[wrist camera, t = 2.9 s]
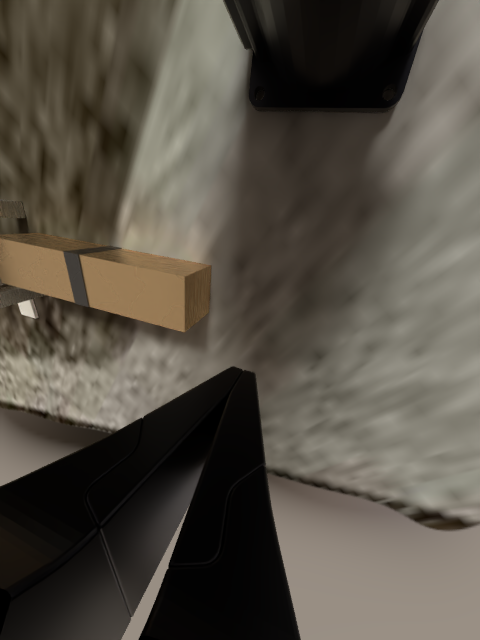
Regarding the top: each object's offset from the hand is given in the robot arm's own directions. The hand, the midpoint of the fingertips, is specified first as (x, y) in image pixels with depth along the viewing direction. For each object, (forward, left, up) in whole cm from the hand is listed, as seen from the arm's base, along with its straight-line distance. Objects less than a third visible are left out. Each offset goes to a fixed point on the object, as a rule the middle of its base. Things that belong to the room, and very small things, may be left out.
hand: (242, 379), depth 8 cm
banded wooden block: (+13, 0, -8) cm, 15 cm away
